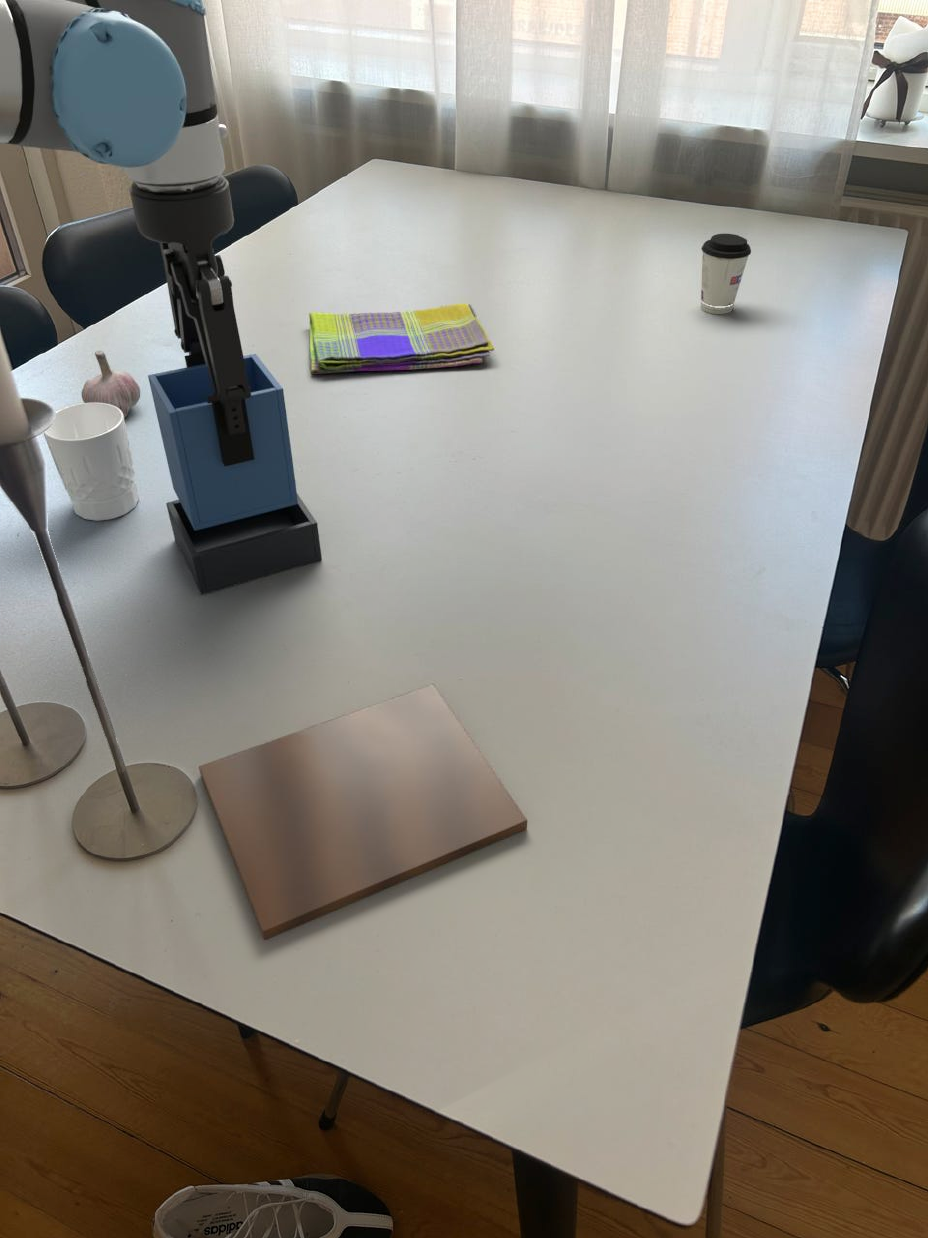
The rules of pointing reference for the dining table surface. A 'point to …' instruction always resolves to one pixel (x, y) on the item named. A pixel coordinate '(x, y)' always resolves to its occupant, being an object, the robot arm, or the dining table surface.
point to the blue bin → (196, 449)
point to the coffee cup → (722, 271)
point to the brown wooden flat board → (355, 807)
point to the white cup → (94, 460)
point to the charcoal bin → (246, 545)
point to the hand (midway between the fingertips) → (224, 439)
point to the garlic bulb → (111, 387)
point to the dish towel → (397, 340)
